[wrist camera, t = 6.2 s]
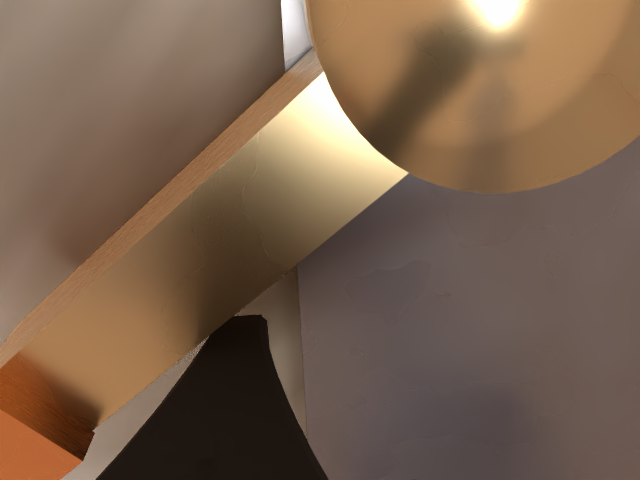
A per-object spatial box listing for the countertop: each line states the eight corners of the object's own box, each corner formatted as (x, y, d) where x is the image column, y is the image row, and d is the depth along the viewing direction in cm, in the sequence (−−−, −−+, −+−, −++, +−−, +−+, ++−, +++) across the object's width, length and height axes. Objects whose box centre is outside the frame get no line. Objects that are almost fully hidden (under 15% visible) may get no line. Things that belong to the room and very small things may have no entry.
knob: (501, -304, 6) (663, -519, 4) (661, 2, 8) (857, 11, 5) (-52, 266, 9) (-195, 386, 6) (149, 409, 11) (103, 555, 8)
